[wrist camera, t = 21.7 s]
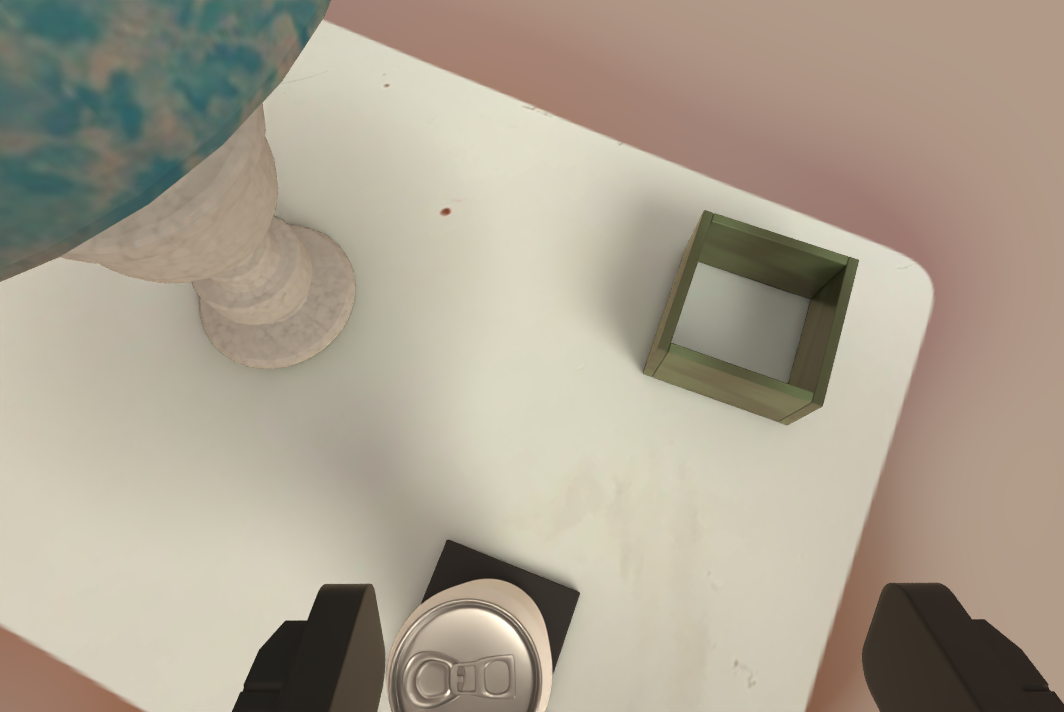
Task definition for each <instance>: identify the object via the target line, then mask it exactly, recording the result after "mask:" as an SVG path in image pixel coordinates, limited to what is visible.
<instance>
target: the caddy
mask: <svg viewBox="0 0 1064 712" xmlns="http://www.w3.org/2000/svg"><path fill="white" fill-rule="evenodd" d="M698 261H699V262H702V263H705V264H708V265H711V266H714V267H717V268H720V269H723V270H726V271H729V272H732V273H735V274H738V275H741V276H744V277H747V278H750V279H753V280H756V281H759V282H762V283H765V284H768V285H771V286H774V287H777V288H780V289H783V290H786V291H789V292H792V293H795V294H798V295H801V296H804V297H807V298H810V299H811V302H810V306H809V309H808V313H807V317H806V321H805V324H804V328H803V332H802V335H801V339H800V343H799V347H798V350H797V354H796V358H795V362H794V365H793V369H792V373H791V377H790V380H789V384H787V383H784V382H781V381H779V380H776V379H773V378H770V377H767V376H764V375H761V374H759V373H756V372H753V371H750V370H747V369H744V368H741V367H738V366H736V365H733V364H730V363H727V362H724V361H721V360H718V359H716V358H713V357H710V356H707V355H704V354H701V353H698V352H696V351H693V350H690V349H687V348H684V347H681V346H678V345H676V344H673V343H671V341H672V338H673V335H674V332H675V329H676V326H677V323H678V320H679V317H680V314H681V311H682V308H683V305H684V302H685V299H686V296H687V293H688V290H689V287H690V284H691V280H692V277H693V274H694V271H695V268H696V265H697V262H698ZM858 262H859V260H858V259H855V258H851V257H849V258H848V256H845V255H842V254H839V253H836V252H833V251H829V250H826V249H823V248H820V247H817V246H814V245H811V244H808V243H805V242H802V241H799V240H795V239H792V238H789V237H786V236H783V235H780V234H777V233H774V232H771V231H768V230H765V229H761V228H758V227H755V226H752V225H749V224H746V223H743V222H740V221H737V220H734V219H731V218H727V217H724V216H721V215H718V214H715V213H714V214H713V213H712V212H709V211H706V210H704V211H703V213H702V216H701V218H700V220H699V222H698V224H697V226H696V228H695V230H694V232H693V234H692V236H691V238H690V240H689V242H688V245H687V247H686V249H685V251H684V254H683V257H682V260H681V263H680V266H679V269H678V272H677V275H676V278H675V281H674V284H673V287H672V289H671V292H670V295H669V298H668V301H667V304H666V307H665V310H664V313H663V316H662V319H661V322H660V325H659V328H658V331H657V333H656V336H655V339H654V342H653V345H652V348H651V351H650V354H649V357H648V360H647V363H646V366H645V369H644V372H643V374H646V375H648V376H653V377H654V378H657V379H660V380H662V381H665V382H668V383H671V384H674V385H676V386H679V387H682V388H685V389H688V390H690V391H693V392H696V393H699V394H702V395H704V396H707V397H710V398H713V399H716V400H718V401H721V402H724V403H727V404H730V405H732V406H735V407H738V408H741V409H744V410H746V411H749V412H752V413H755V414H758V415H760V416H763V417H766V418H769V419H772V420H774V421H779V422H780V423H783V424H785V425H789V424H791V423H793V422H795V421H796V420H798V419H800V418H802V417H804V416H806V415H808V414H809V413H811V412H813V411H815V410H817V409H819V408H821V407H822V406H823V403H824V399H825V395H826V391H827V387H828V383H829V379H830V375H831V371H832V367H833V363H834V359H835V355H836V351H837V347H838V343H839V339H840V335H841V331H842V327H843V323H844V319H845V315H846V311H847V307H848V303H849V299H850V295H851V291H852V287H853V283H854V279H855V275H856V270H857V266H858Z"/></svg>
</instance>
